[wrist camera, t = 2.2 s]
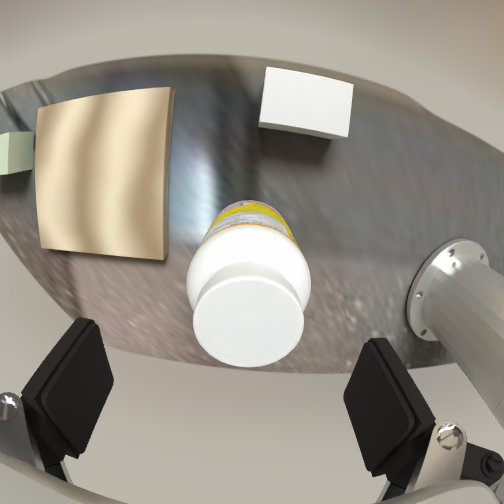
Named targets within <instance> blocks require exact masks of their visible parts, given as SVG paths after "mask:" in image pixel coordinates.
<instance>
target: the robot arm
mask: <svg viewBox="0 0 504 504" xmlns="http://www.w3.org/2000/svg"><path fill="white" fill-rule="evenodd" d="M407 319H408V323H409V325H410V327H411V329H412V330H413V331H414V333H415V334H416V335H417V336H418V337H419V338H421V339H423V340H426V341H438V340H439V341H440V343H441V344H442V345H443V346H444V348H445V349H446V350H447V351H448V353H449V354H450V355H451V357H452V358H453V359H454V360H455V362H456V363H457V364H458V366H459V367H460V368H461V370H462V371H463V372H464V373H465V375H466V376H467V377H468V379H469V380H470V382H471V383H472V384H473V386H474V387H475V389H476V390H477V391H478V393H479V394H480V396H481V397H482V399H483V400H484V401H485V403H486V404H487V406H488V407H489V409H490V410H491V412H492V413H493V415H494V416H495V418H496V419H497V420H498V422H499V424H500V425H501V426H502V427H503V429H504V277H503V276H502V275H500V274H499V273H497V272H496V271H494V270H493V269H491V268H490V267H489V262H488V258H487V255H486V252H485V251H484V250H483V248H482V247H481V246H480V245H479V244H477V243H476V242H474V241H472V240H470V239H464V238H461V239H455V240H452V241H449V242H447V243H446V244H444V245H443V246H441V247H439V248H438V249H437V250H436V251H435V252H434V253H433V254H432V255H431V256H430V257H429V258H428V259H427V261H426V262H425V263H424V264H423V266H422V268H421V269H420V271H419V272H418V274H417V276H416V278H415V280H414V282H413V284H412V287H411V290H410V292H409V296H408V301H407ZM113 382H114V379H113V375H112V372H111V369H110V365H109V362H108V358H107V355H106V352H105V348H104V344H103V341H102V337H101V333H100V329H99V326H98V325H97V324H95V322H94V320H92V319H87V318H82V317H78V318H77V319H76V320H75V321H74V323H73V324H72V325H71V326H70V328H69V329H68V330H67V331H66V333H65V334H64V335H63V336H62V337H61V339H60V340H59V341H58V342H57V344H56V345H55V346H54V348H53V349H52V350H51V352H50V353H49V354H48V355H47V357H46V358H45V360H44V361H43V362H42V364H41V365H40V366H39V368H38V369H37V371H36V372H35V373H34V374H33V376H32V377H31V379H30V380H29V382H28V383H27V384H26V386H25V388H24V389H23V390H22V392H21V393H22V396H21V398H19V396H17V395H16V394H13V393H10V392H7V393H2V394H0V504H127V503H124V502H120V501H117V500H114V499H110V498H107V497H104V496H102V495H98V494H96V493H93V492H90V491H88V490H85V489H83V488H80V487H77V486H75V485H73V483H72V480H71V478H70V476H69V473H68V471H67V468H66V466H65V463H64V460H63V459H64V457H65V454H66V455H68V456H71V457H74V458H76V459H78V457H79V455H80V454H82V453H84V452H85V449H86V447H87V444H88V442H89V439H90V437H91V435H92V432H93V430H94V427H95V425H96V423H97V420H98V418H99V415H100V413H101V411H102V408H103V406H104V404H105V402H106V400H107V397H108V395H109V393H110V391H111V389H112V386H113ZM343 397H344V402H345V405H346V408H347V411H348V414H349V417H350V420H351V423H352V426H353V429H354V432H355V435H356V438H357V441H358V444H359V447H360V450H361V453H362V457H363V460H364V463H365V466H366V469H367V470H368V471H371V473H372V476H373V477H376V476H380V475H383V474H386V477H387V482H386V484H385V486H384V488H383V490H382V492H381V494H380V496H379V497H378V500H377V501H376V503H374V504H504V460H503V459H502V457H501V456H500V455H499V454H498V453H496V452H494V451H491V450H488V449H485V448H482V447H479V446H476V445H474V444H471V443H468V442H467V436H466V432H465V431H464V429H463V428H462V427H461V426H460V425H459V424H458V423H456V422H453V421H448V420H447V421H442V422H440V423H438V424H437V425H436V423H435V422H434V421H435V420H436V418H435V417H434V415H433V414H432V412H431V410H430V408H429V406H428V404H427V403H426V401H425V399H424V398H423V396H422V394H421V393H420V391H419V389H418V388H417V386H416V384H415V383H414V381H413V379H412V378H411V376H410V375H409V373H408V371H407V370H406V368H405V366H404V365H403V363H402V362H401V360H400V359H399V357H398V355H397V354H396V352H395V351H394V349H393V348H392V346H391V345H390V343H389V342H388V340H387V339H386V338H371V339H369V340H368V342H367V343H365V344H364V345H363V348H362V350H361V353H360V356H359V358H358V361H357V363H356V366H355V368H354V371H353V373H352V376H351V378H350V380H349V382H348V385H347V387H346V389H345V391H344V396H343Z"/></svg>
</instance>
